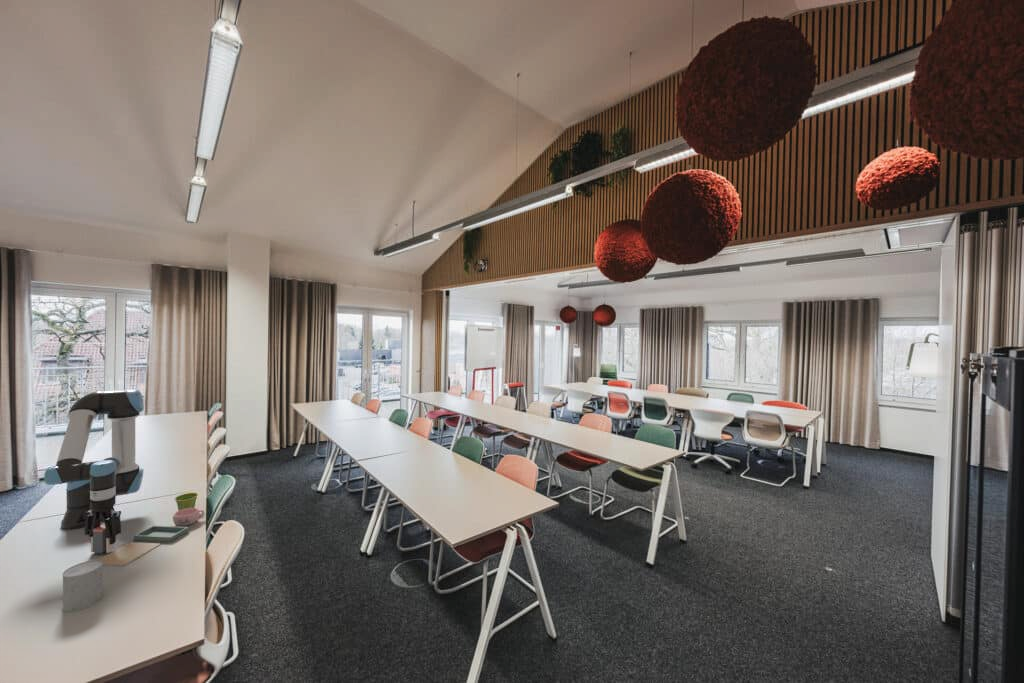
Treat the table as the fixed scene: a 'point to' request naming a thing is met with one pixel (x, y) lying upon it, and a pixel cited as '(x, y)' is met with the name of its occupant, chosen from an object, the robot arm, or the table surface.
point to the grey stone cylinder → (82, 585)
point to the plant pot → (186, 501)
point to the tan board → (128, 553)
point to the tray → (161, 534)
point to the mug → (186, 516)
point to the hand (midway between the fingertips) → (102, 550)
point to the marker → (99, 540)
